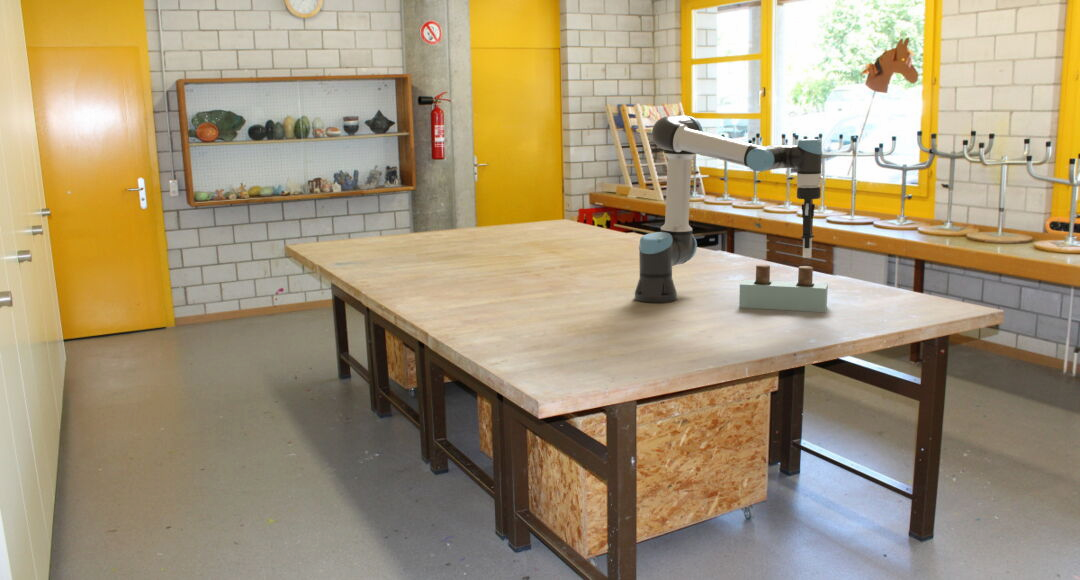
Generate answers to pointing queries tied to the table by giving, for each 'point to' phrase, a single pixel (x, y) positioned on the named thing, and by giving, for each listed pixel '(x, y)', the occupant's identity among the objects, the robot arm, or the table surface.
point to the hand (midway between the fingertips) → (806, 257)
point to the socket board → (783, 296)
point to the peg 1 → (763, 274)
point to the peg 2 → (805, 276)
